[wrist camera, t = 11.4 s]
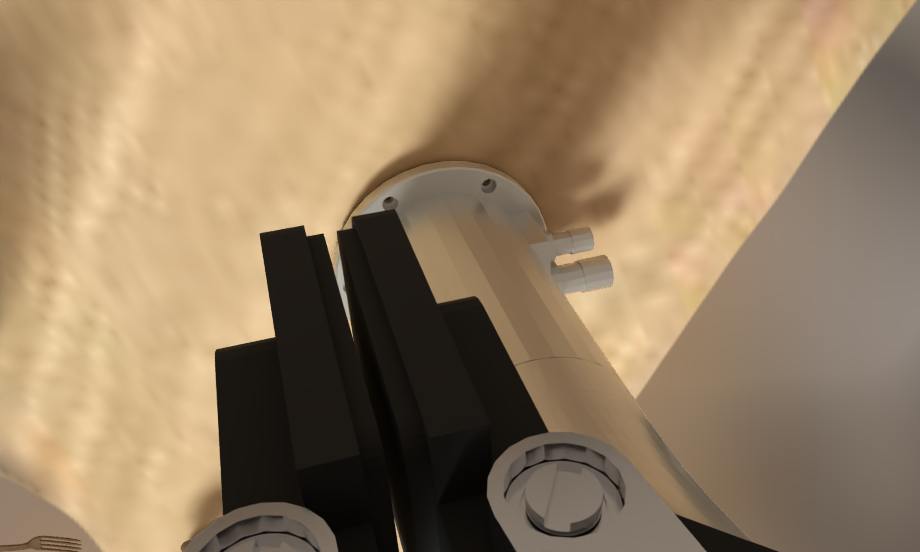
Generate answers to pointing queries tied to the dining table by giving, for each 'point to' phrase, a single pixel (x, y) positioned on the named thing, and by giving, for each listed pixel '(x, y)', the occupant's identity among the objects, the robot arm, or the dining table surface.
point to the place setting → (36, 544)
